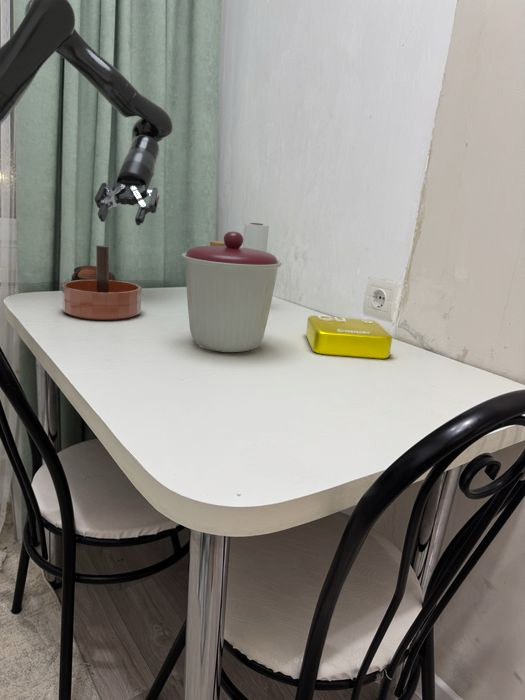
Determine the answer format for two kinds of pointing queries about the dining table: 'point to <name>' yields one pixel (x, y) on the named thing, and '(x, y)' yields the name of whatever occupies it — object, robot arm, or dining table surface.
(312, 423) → the dining table surface
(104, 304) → the bowl
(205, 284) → the canister
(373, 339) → the element tile
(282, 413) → the dining table surface
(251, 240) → the paper towel roll
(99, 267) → the stirring stick
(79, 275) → the pottery mug
